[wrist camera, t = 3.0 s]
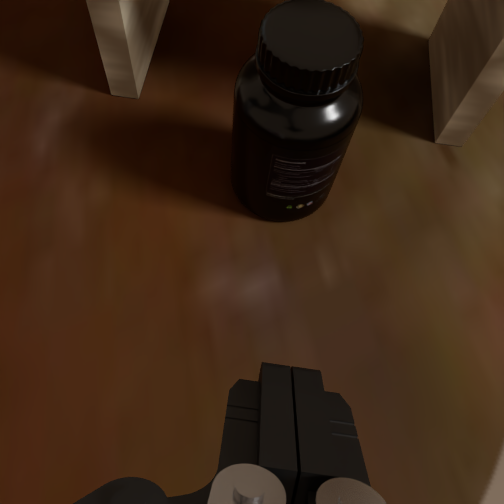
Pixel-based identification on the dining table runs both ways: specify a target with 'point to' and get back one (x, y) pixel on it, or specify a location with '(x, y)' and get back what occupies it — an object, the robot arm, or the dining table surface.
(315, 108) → the supplement bottle
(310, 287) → the dining table surface
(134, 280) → the dining table surface
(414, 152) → the dining table surface
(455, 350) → the dining table surface
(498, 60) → the riser
